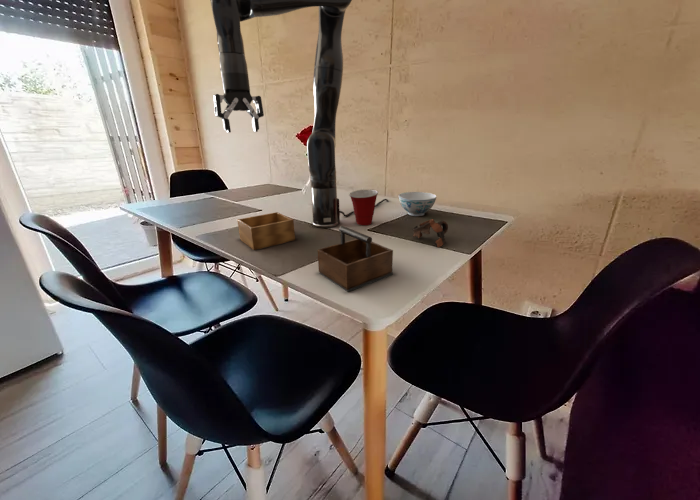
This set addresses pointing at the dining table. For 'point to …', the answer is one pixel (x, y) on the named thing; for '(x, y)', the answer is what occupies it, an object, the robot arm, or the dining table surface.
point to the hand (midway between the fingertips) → (242, 132)
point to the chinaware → (417, 202)
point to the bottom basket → (266, 230)
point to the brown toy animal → (435, 226)
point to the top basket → (354, 260)
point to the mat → (361, 284)
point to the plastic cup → (364, 205)
